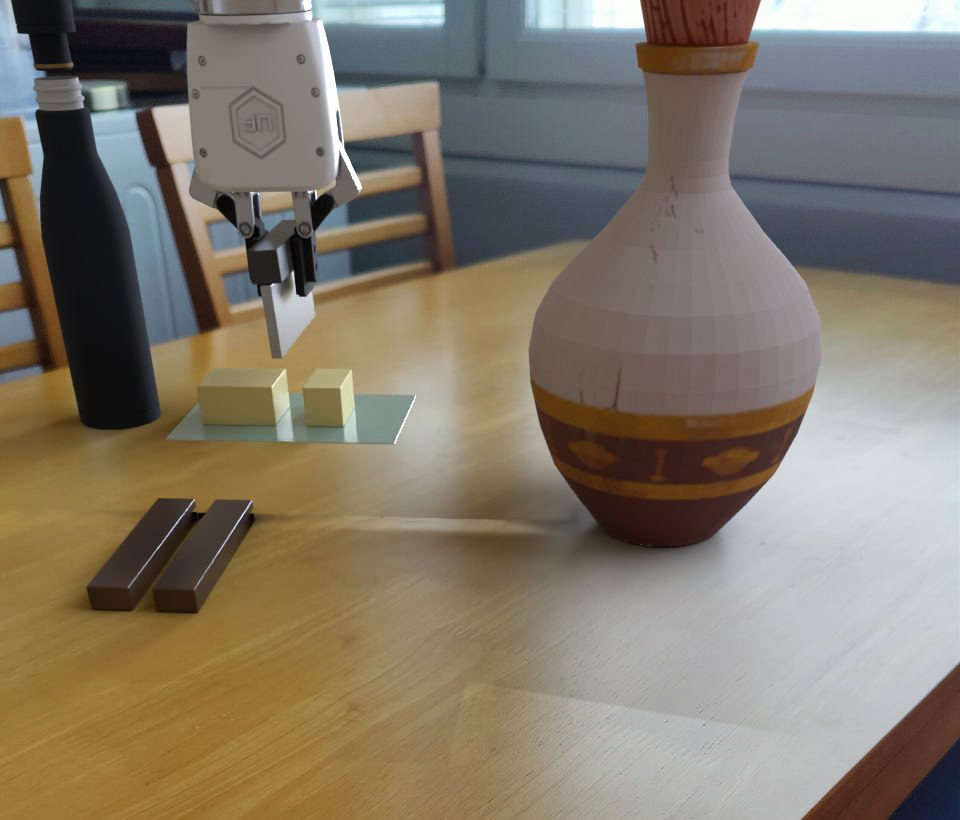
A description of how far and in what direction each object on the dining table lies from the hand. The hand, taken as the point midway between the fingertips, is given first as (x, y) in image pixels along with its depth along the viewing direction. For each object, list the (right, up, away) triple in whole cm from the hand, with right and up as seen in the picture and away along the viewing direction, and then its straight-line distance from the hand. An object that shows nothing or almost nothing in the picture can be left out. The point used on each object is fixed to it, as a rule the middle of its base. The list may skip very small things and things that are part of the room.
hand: (286, 290), depth 92 cm
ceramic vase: (+27, -20, -9) cm, 35 cm away
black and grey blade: (0, -3, +2) cm, 3 cm away
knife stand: (-5, -24, -14) cm, 28 cm away
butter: (-4, -7, +6) cm, 10 cm away
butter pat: (+3, -8, +5) cm, 10 cm away
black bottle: (-14, -8, +7) cm, 18 cm away
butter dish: (0, -8, +6) cm, 10 cm away
